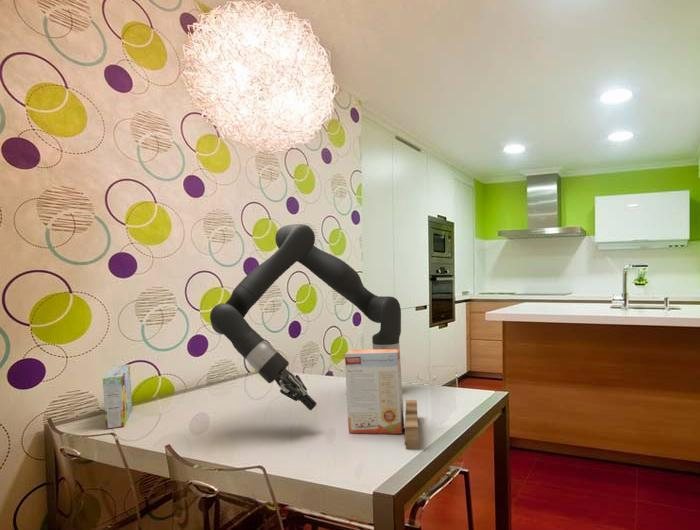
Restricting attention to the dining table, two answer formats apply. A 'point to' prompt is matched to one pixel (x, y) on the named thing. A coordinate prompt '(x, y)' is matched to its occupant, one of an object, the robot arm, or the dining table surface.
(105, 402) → the snack box
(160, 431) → the dining table surface
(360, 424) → the cracker box
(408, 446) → the notched wooden bar
